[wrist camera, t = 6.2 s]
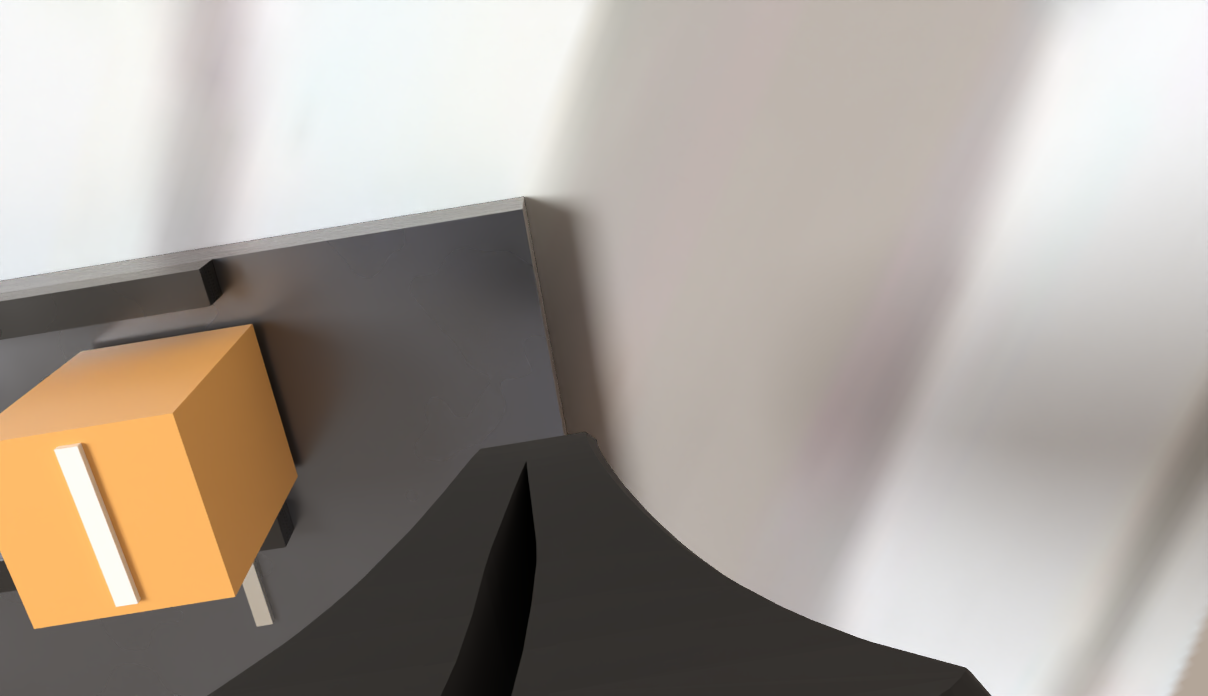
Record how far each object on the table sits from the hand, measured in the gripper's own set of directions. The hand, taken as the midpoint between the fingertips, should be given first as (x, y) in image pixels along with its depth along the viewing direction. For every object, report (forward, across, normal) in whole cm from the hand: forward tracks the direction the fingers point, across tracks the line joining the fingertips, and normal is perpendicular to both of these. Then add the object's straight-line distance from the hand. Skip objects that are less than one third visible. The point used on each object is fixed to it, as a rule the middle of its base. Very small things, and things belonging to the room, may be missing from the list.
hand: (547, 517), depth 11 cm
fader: (+5, +6, 0) cm, 8 cm away
